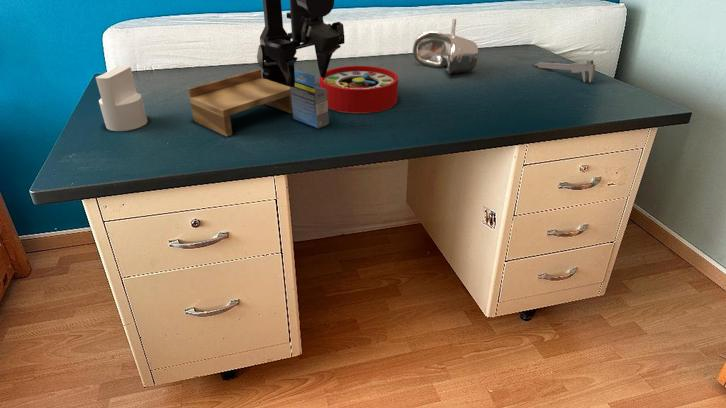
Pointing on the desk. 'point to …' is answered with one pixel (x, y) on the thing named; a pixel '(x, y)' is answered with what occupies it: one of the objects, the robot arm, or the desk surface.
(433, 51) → the silver curved metal piece
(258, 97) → the shelf
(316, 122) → the label tape box
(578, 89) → the desk surface
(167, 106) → the desk surface
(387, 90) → the toy clock
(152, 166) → the desk surface
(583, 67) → the caliper
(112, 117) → the cylinder with rectangular tab
